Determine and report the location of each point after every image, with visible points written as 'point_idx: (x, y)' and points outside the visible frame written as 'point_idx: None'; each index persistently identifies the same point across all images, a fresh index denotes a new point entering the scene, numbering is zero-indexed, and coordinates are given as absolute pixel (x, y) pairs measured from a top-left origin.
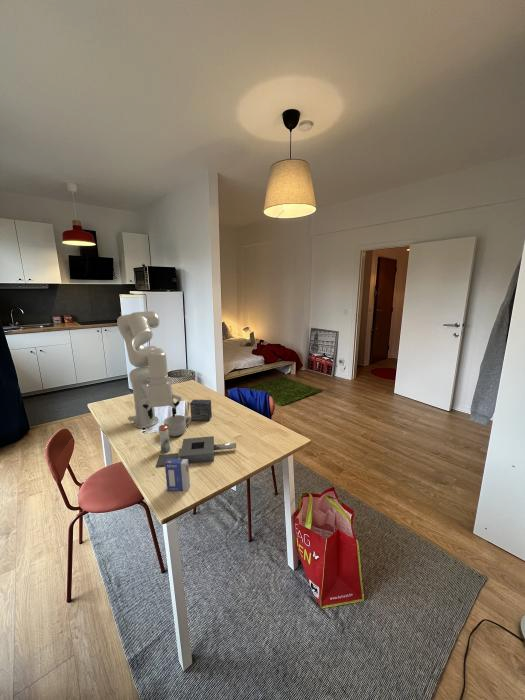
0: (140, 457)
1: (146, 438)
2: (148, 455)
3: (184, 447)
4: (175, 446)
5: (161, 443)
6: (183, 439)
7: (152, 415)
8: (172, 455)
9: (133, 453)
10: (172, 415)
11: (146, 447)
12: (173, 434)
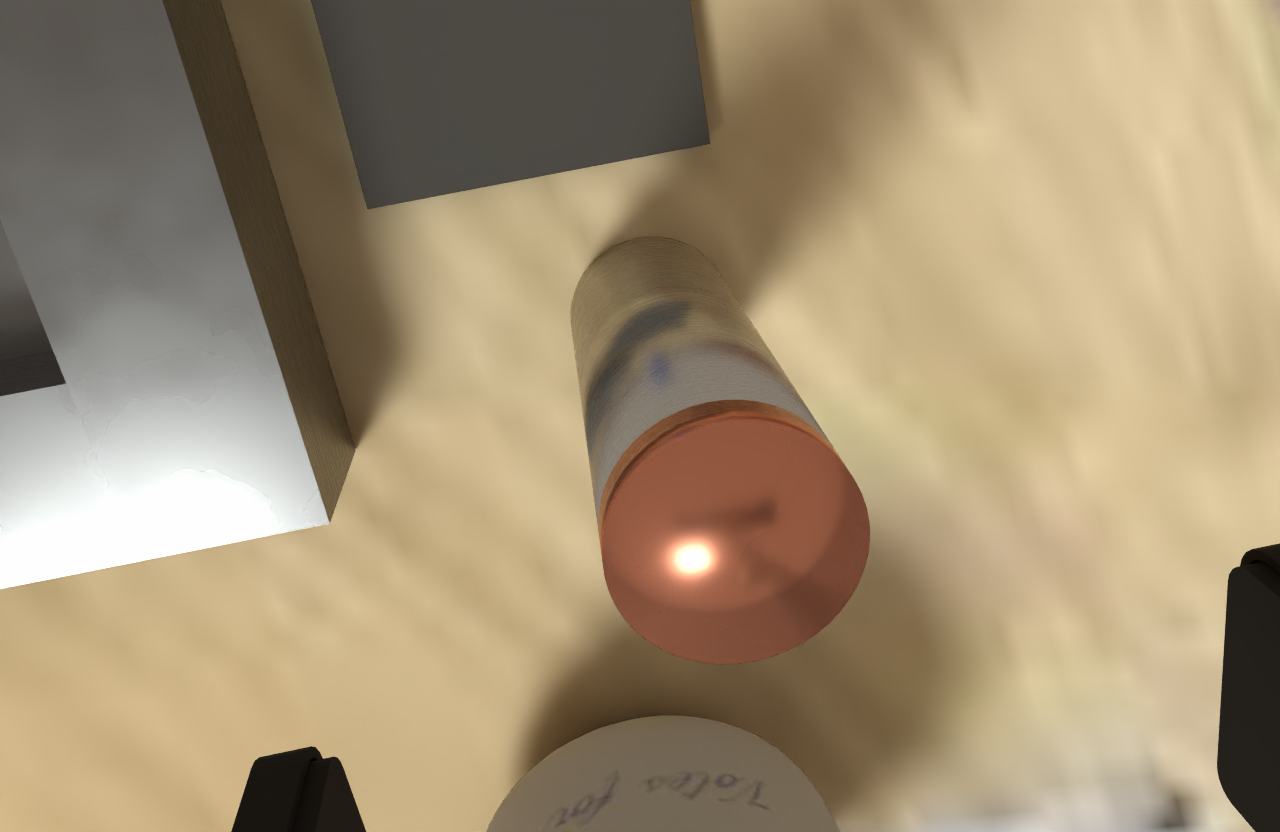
0: (1041, 92)
1: (1089, 648)
2: (915, 158)
3: (159, 197)
4: (516, 448)
5: (718, 297)
6: (317, 500)
7: (1254, 766)
8: (444, 122)
9: (1194, 216)
10: (319, 797)
11: (1020, 400)
12: (640, 721)
